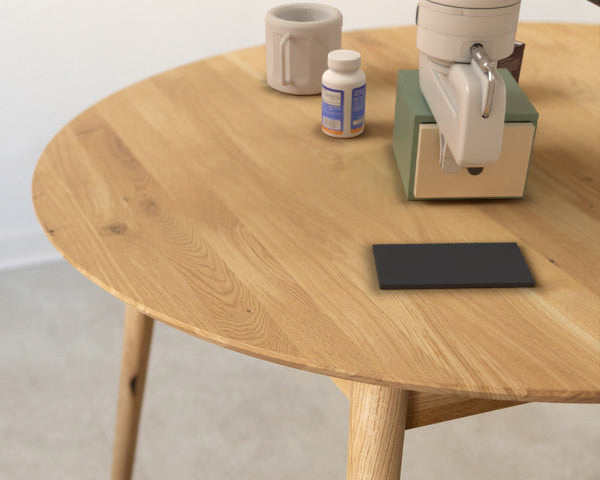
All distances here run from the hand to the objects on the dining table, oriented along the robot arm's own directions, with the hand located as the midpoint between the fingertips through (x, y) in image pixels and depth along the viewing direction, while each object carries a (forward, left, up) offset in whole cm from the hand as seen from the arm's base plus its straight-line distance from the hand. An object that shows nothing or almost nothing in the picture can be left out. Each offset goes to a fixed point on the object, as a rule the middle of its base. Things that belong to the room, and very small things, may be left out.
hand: (449, 169), depth 78 cm
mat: (+1, +10, -5) cm, 11 cm away
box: (-12, -34, -5) cm, 36 cm away
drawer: (-3, -8, -4) cm, 9 cm away
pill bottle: (+9, -22, -5) cm, 24 cm away
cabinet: (-3, -10, -5) cm, 12 cm away
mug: (+14, -38, -5) cm, 41 cm away
